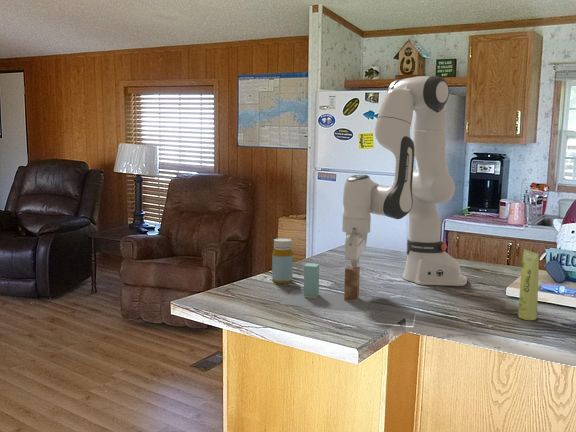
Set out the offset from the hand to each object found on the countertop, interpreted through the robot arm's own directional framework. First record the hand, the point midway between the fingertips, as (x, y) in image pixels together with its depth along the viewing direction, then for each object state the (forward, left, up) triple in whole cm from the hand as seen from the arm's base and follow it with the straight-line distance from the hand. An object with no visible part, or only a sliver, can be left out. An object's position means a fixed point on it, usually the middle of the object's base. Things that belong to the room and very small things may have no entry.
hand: (354, 268), depth 186 cm
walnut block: (0, +6, -8) cm, 10 cm away
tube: (-51, +8, -9) cm, 53 cm away
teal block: (+13, +6, -8) cm, 16 cm away
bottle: (+27, -9, -9) cm, 30 cm away
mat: (+7, +10, -9) cm, 15 cm away
